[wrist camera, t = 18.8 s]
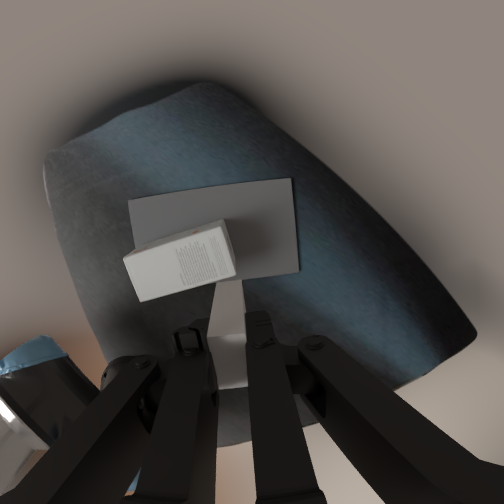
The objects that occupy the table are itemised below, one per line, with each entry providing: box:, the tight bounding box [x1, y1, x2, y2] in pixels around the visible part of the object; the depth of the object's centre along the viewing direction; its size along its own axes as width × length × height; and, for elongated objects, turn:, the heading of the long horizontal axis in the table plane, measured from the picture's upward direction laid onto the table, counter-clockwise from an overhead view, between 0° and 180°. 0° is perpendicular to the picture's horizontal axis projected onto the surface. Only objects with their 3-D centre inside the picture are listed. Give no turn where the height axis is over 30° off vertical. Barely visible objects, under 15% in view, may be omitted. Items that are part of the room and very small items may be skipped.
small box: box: [123, 219, 236, 302], centre depth 36 cm, size 8×6×13 cm
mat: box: [128, 178, 299, 284], centre depth 40 cm, size 24×14×1 cm, turn 96°
